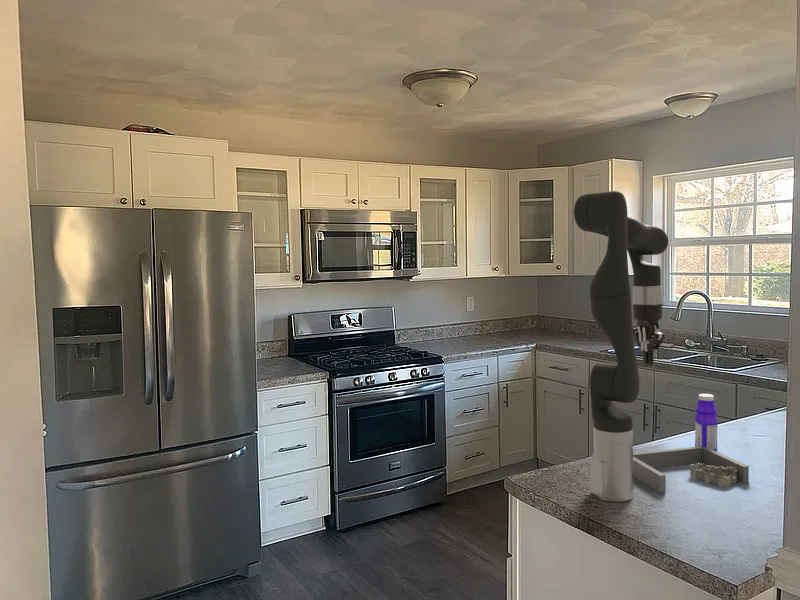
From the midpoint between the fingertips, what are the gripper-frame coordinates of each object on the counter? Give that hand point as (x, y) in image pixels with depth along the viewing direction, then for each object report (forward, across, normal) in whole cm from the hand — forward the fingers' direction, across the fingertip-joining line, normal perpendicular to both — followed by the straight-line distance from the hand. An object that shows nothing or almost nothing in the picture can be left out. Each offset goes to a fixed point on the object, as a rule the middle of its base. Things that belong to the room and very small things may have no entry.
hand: (648, 364), depth 172 cm
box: (+29, +10, +4) cm, 31 cm away
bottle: (+30, -7, +22) cm, 38 cm away
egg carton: (+30, +13, +10) cm, 34 cm away
